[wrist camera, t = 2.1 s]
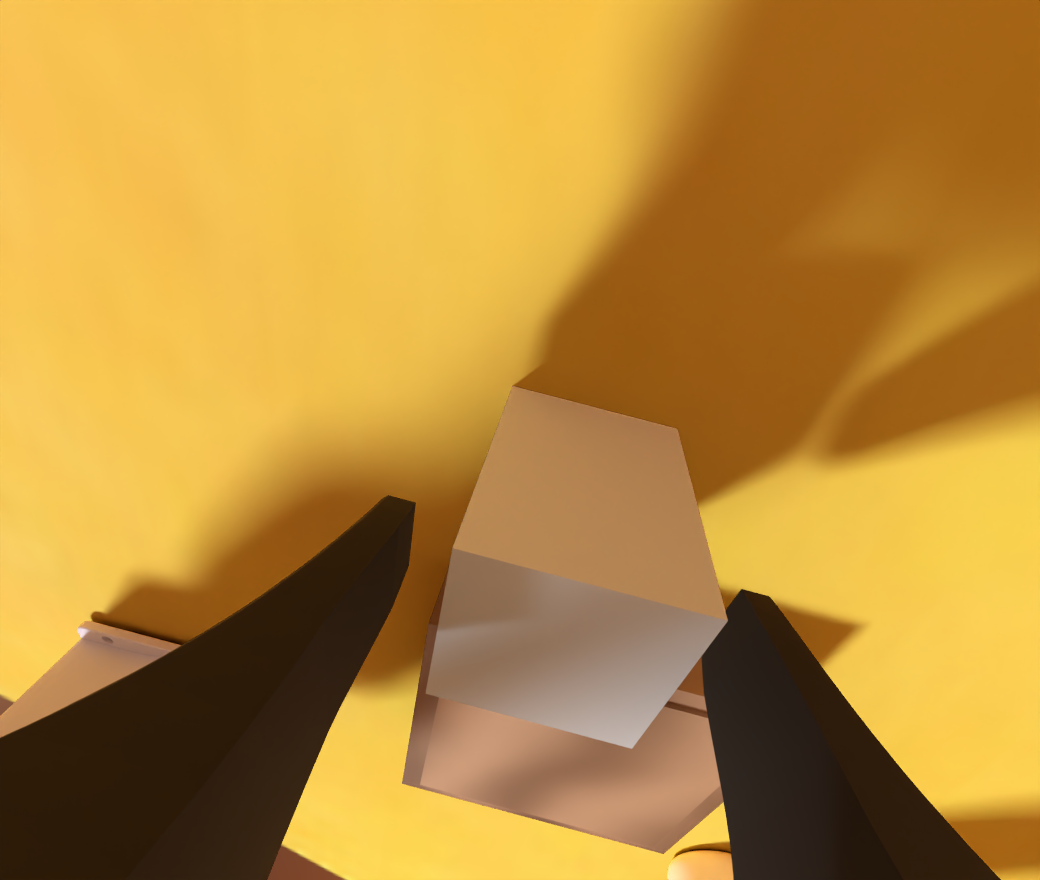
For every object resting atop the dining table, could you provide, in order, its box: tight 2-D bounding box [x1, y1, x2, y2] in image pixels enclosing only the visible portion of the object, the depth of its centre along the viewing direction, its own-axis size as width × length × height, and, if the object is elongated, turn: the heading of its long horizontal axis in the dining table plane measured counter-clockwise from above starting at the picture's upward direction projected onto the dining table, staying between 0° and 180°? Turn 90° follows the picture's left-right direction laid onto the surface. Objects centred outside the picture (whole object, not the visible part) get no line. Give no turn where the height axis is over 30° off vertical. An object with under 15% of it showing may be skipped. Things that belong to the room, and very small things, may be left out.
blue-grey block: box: [426, 386, 728, 749], centre depth 11 cm, size 4×4×6 cm
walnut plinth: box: [402, 568, 724, 854], centre depth 19 cm, size 12×12×3 cm
